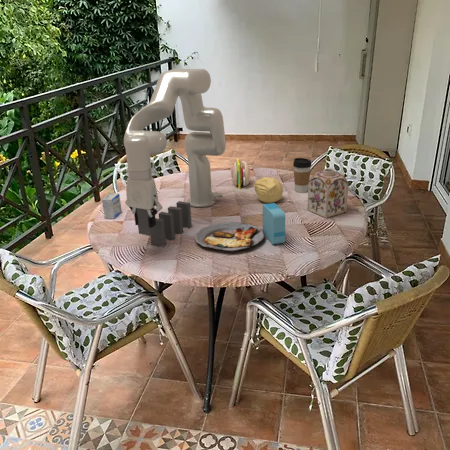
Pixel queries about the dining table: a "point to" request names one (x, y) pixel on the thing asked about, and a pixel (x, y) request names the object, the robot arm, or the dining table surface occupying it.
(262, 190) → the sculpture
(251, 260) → the dining table surface
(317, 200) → the decorative jar
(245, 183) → the hamburger
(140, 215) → the domino
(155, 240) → the domino
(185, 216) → the domino
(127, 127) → the robot arm
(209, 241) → the food plate
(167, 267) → the dining table surface
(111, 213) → the medicine box
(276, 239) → the light blue block
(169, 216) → the domino
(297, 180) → the coffee cup
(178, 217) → the domino
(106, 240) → the dining table surface
